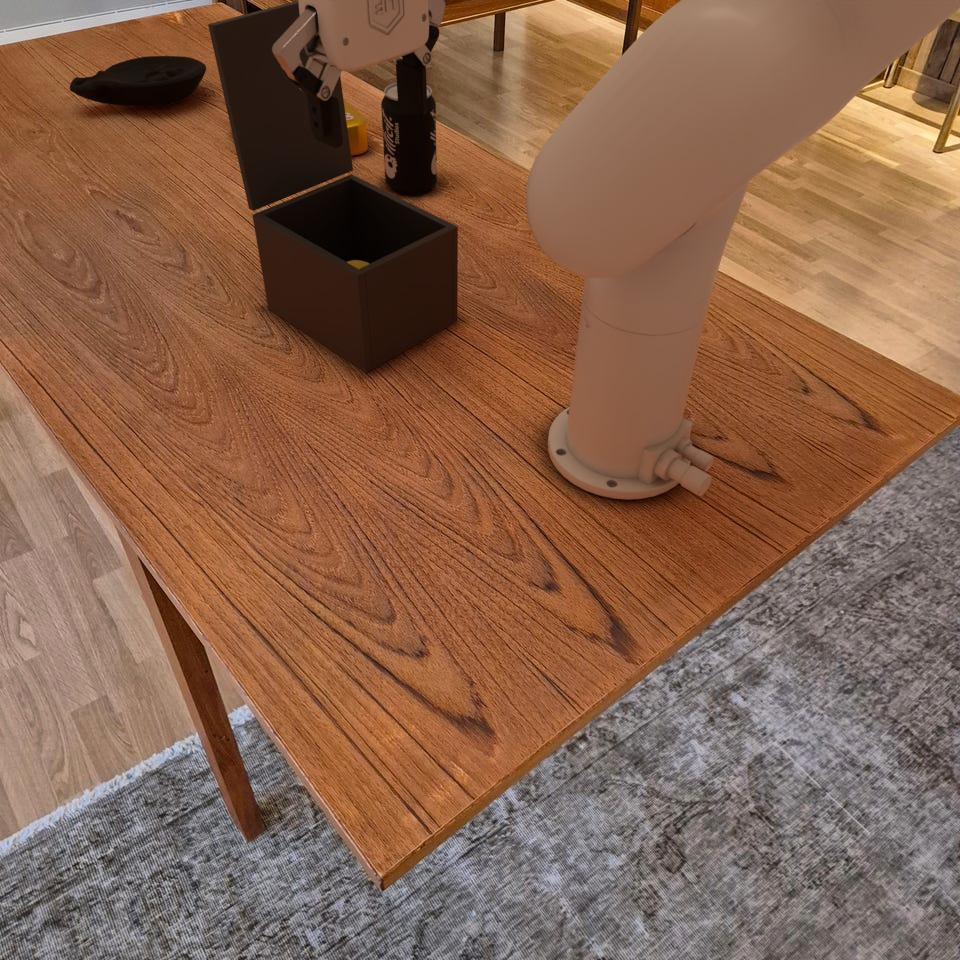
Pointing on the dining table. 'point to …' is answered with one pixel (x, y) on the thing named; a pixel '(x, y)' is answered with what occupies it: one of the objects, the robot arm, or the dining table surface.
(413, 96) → the robot arm
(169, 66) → the oil lamp
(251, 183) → the lid
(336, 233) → the dark open storage box
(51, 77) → the dining table surface
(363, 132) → the element tile
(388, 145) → the beverage can
